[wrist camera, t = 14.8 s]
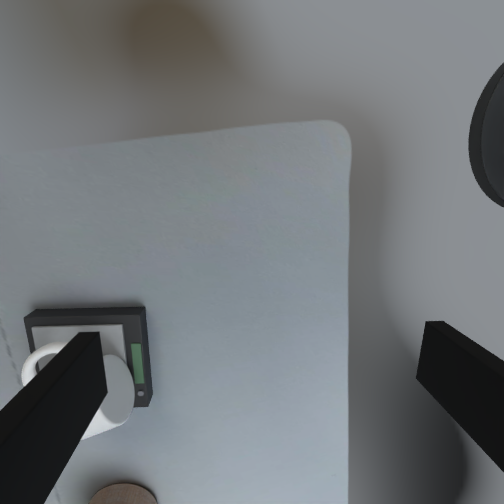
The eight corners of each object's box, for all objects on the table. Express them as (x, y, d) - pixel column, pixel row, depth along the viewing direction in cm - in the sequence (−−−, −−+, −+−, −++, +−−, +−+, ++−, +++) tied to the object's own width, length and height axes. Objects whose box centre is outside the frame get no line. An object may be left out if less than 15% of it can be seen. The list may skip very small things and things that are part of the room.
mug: (142, 389, 38) (120, 442, 31) (73, 415, 39) (35, 474, 31) (98, 314, 35) (61, 352, 28) (24, 343, 36) (-33, 388, 28)
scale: (145, 306, 39) (138, 316, 36) (152, 394, 42) (147, 409, 39) (35, 309, 37) (20, 319, 35) (52, 399, 41) (40, 414, 38)
